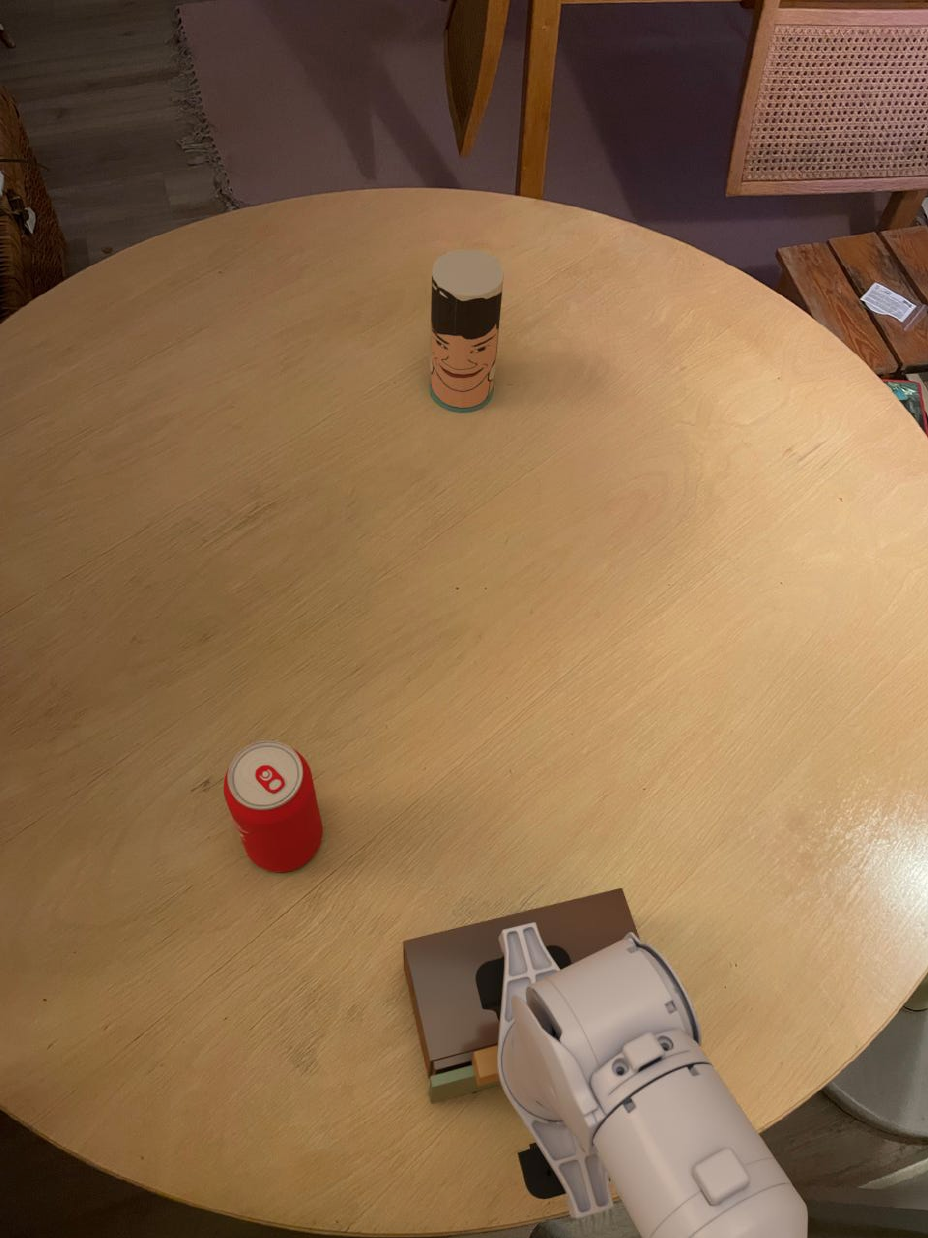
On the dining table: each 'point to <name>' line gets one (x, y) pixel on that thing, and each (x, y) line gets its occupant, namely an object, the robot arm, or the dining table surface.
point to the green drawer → (466, 1077)
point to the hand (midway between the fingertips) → (531, 1076)
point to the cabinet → (454, 956)
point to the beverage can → (274, 805)
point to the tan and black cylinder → (464, 329)
